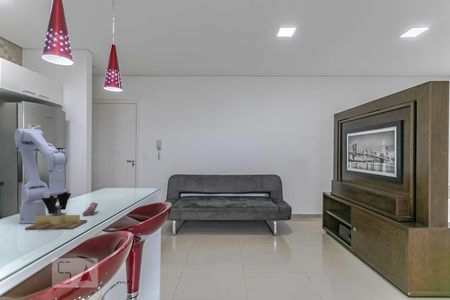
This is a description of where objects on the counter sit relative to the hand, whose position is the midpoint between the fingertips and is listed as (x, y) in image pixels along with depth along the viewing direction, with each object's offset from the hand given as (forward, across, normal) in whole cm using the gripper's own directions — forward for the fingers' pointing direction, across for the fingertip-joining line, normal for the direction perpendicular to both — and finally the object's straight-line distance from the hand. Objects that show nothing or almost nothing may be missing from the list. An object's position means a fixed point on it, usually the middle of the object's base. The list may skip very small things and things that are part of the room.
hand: (57, 211), depth 115 cm
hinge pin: (+5, 0, 0) cm, 5 cm away
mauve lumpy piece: (+6, +22, -4) cm, 23 cm away
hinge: (+6, 0, 0) cm, 6 cm away
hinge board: (+6, 0, 0) cm, 6 cm away
